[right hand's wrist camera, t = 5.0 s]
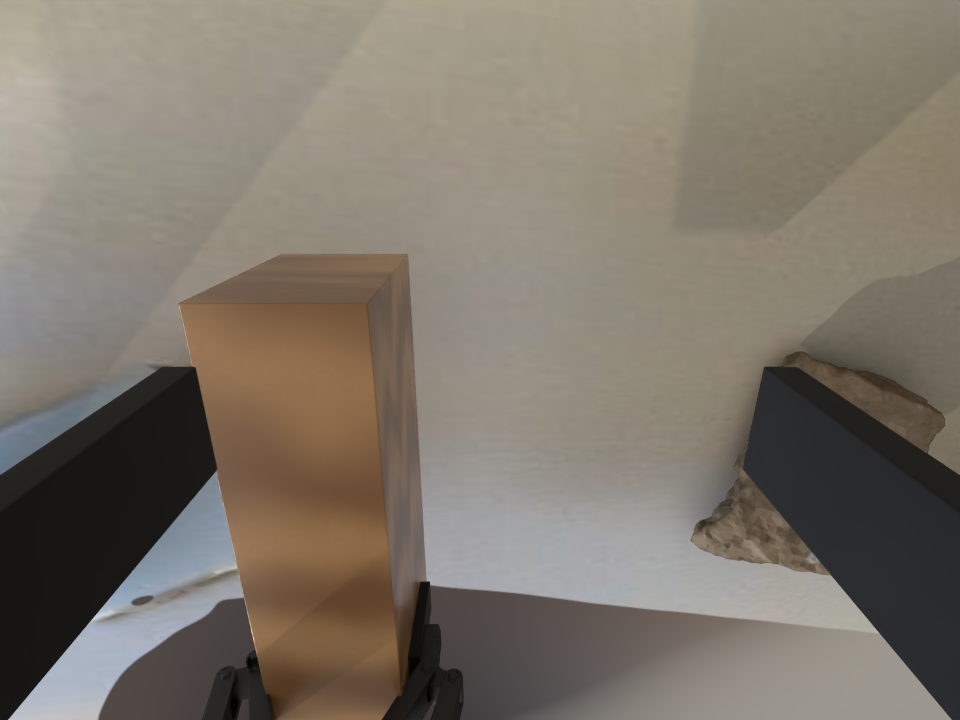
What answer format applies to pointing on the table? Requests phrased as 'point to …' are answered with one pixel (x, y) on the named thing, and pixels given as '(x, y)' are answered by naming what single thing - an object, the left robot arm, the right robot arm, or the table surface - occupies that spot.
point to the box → (318, 471)
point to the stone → (749, 514)
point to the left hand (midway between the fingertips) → (367, 594)
